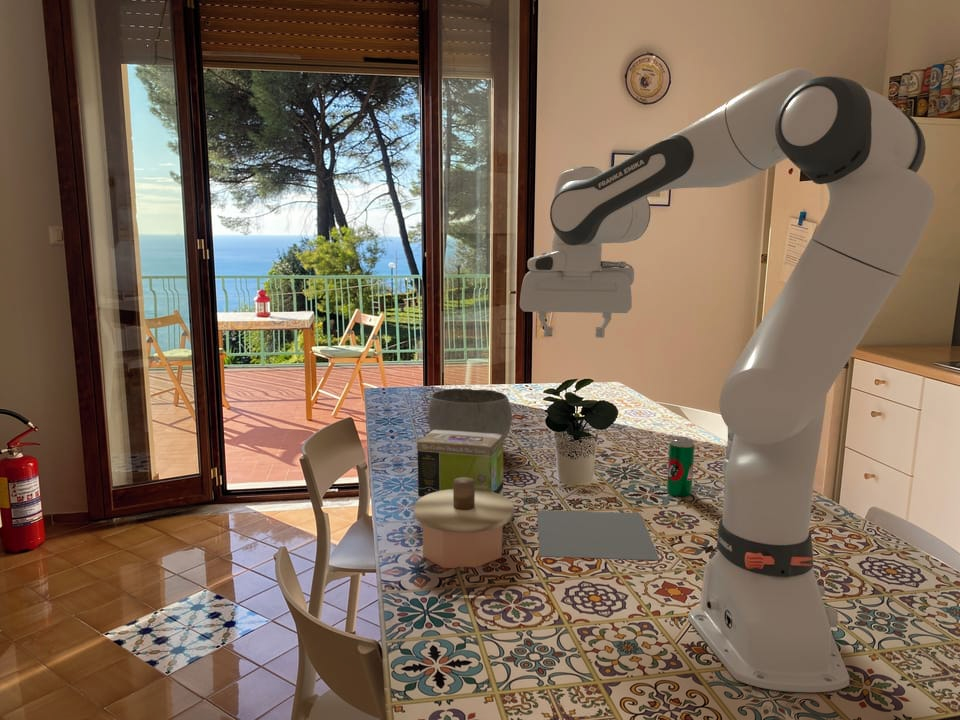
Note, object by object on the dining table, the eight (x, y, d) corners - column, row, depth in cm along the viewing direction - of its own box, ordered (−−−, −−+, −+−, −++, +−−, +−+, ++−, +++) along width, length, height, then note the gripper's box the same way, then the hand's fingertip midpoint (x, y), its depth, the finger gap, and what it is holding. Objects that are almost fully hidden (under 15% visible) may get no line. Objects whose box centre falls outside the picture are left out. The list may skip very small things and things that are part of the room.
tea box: (503, 503, 143) (504, 432, 140) (491, 522, 133) (492, 447, 131) (433, 495, 147) (433, 426, 144) (416, 513, 137) (415, 440, 135)
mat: (659, 562, 118) (660, 560, 117) (539, 558, 119) (539, 556, 119) (640, 515, 137) (640, 513, 137) (537, 512, 138) (537, 510, 138)
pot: (500, 569, 114) (501, 529, 113) (419, 567, 115) (419, 526, 114) (502, 535, 127) (503, 498, 126) (430, 533, 128) (429, 496, 127)
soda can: (692, 499, 145) (696, 443, 143) (667, 497, 146) (670, 442, 144) (690, 491, 150) (693, 436, 148) (665, 489, 151) (668, 435, 149)
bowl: (524, 460, 170) (525, 399, 167) (443, 470, 162) (443, 406, 160) (491, 437, 189) (492, 382, 186) (418, 445, 181) (417, 388, 179)
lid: (513, 534, 111) (514, 501, 110) (406, 531, 112) (406, 498, 111) (514, 494, 128) (514, 465, 127) (421, 492, 129) (420, 463, 128)
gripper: (631, 260, 130) (628, 335, 132) (520, 259, 131) (519, 333, 133) (637, 262, 124) (633, 340, 126) (520, 260, 125) (519, 338, 127)
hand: (573, 336), depth 130 cm, fingers open, 8 cm apart
